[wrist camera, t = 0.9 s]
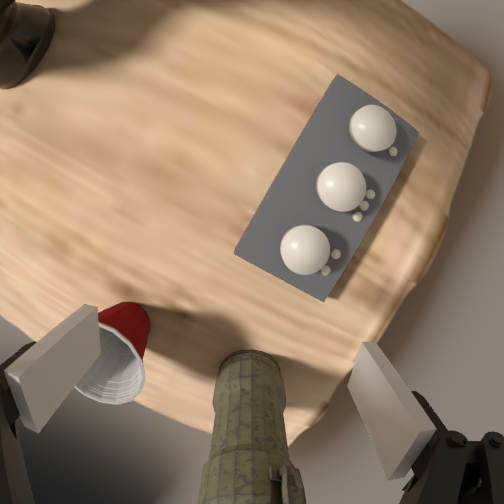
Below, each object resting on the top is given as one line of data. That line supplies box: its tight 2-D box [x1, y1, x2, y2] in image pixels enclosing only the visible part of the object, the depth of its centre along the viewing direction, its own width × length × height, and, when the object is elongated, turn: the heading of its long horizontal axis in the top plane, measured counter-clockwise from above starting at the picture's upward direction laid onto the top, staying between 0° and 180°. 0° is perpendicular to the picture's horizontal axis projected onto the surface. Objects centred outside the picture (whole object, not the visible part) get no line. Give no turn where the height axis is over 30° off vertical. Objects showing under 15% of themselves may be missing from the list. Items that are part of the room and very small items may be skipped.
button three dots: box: [316, 162, 366, 212], centre depth 31 cm, size 5×5×4 cm
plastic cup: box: [75, 302, 150, 404], centre depth 32 cm, size 11×11×12 cm
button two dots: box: [280, 224, 330, 275], centre depth 32 cm, size 5×5×4 cm
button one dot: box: [348, 105, 397, 152], centre depth 30 cm, size 5×5×4 cm
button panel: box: [234, 74, 419, 302], centre depth 33 cm, size 12×24×3 cm, turn 151°
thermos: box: [198, 350, 306, 504], centre depth 23 cm, size 9×12×35 cm
